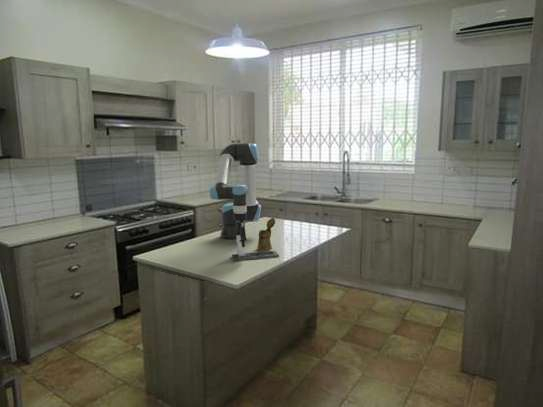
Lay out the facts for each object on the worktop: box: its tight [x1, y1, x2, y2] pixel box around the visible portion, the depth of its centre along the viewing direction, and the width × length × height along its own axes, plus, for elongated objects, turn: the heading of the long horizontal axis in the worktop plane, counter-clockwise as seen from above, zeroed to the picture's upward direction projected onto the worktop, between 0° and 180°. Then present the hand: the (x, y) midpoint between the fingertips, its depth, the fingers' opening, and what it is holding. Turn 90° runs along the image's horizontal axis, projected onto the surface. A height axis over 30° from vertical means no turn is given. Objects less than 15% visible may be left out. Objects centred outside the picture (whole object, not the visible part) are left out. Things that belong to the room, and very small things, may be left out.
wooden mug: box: [256, 217, 276, 251], centre depth 241 cm, size 9×14×18 cm, turn 139°
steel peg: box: [236, 241, 246, 258], centre depth 222 cm, size 4×4×9 cm
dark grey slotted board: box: [231, 250, 280, 262], centre depth 224 cm, size 9×26×1 cm, turn 104°
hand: (241, 249), depth 222 cm, fingers open, 13 cm apart
